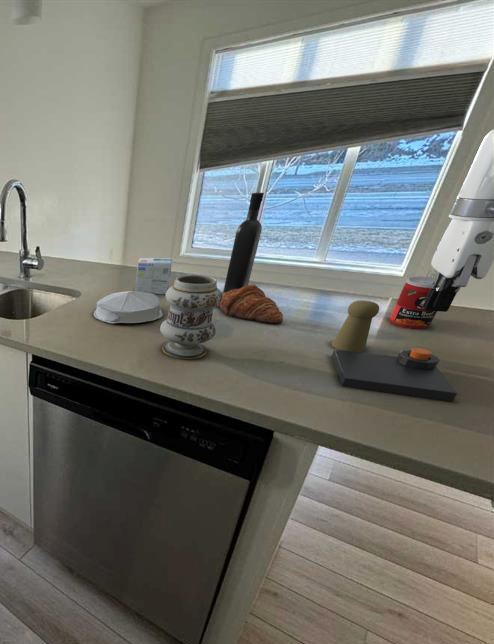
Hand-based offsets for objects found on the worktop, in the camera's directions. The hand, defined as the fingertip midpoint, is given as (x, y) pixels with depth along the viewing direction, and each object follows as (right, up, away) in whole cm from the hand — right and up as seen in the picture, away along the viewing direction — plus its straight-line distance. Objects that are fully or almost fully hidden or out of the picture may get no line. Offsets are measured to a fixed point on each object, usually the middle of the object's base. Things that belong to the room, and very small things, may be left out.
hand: (434, 309), depth 79 cm
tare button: (+1, -9, +4) cm, 10 cm away
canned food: (+21, +1, +24) cm, 32 cm away
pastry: (-12, +6, +39) cm, 41 cm away
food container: (-44, +7, +45) cm, 64 cm away
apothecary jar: (-38, -6, +22) cm, 45 cm away
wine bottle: (-6, +15, +52) cm, 55 cm away
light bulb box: (-30, +18, +62) cm, 71 cm away
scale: (-5, -13, +4) cm, 15 cm away
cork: (-2, -6, +17) cm, 18 cm away
